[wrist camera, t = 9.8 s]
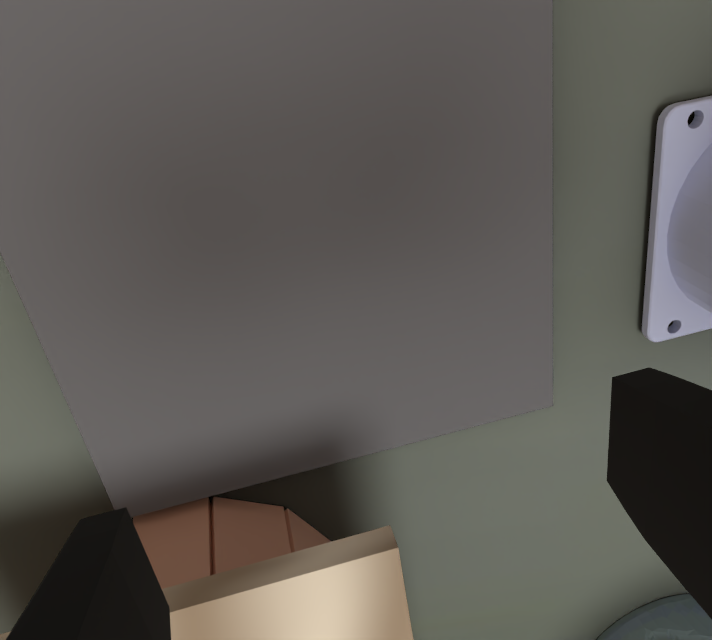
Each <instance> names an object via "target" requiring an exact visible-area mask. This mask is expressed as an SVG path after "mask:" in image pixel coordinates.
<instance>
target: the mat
mask: <svg viewBox="0 0 712 640" xmlns="http://www.w3.org/2000/svg"><path fill="white" fill-rule="evenodd" d="M0 253H1V255H2V257H3V260H4V262H5V264H6V266H7V269H8V271H9V273H10V275H11V278H12V280H13V282H14V284H15V287H16V289H17V291H18V293H19V296H20V298H21V300H22V302H23V305H24V307H25V309H26V311H27V314H28V316H29V318H30V320H31V323H32V325H33V327H34V329H35V332H36V334H37V336H38V338H39V341H40V343H41V345H42V348H43V350H44V352H45V354H46V357H47V359H48V361H49V363H50V366H51V368H52V370H53V372H54V375H55V377H56V379H57V381H58V384H59V386H60V388H61V390H62V393H63V395H64V397H65V399H66V402H67V404H68V406H69V408H70V411H71V413H72V415H73V417H74V420H75V422H76V424H77V426H78V429H79V431H80V433H81V435H82V438H83V440H84V442H85V444H86V447H87V449H88V451H89V453H90V456H91V458H92V460H93V462H94V465H95V467H96V469H97V472H98V474H99V476H100V478H101V481H102V483H103V485H104V487H105V490H106V492H107V494H108V496H109V499H110V501H111V503H112V505H113V508H114V510H118V509H121V508H125V507H126V508H127V510H128V512H129V515H130V517H135V516H138V515H142V514H146V513H150V512H153V511H157V510H161V509H165V508H169V507H172V506H176V505H180V504H184V503H187V502H191V501H195V500H199V499H203V498H206V497H210V496H214V495H218V494H222V493H225V492H229V491H233V490H237V489H240V488H244V487H248V486H252V485H256V484H259V483H263V482H267V481H271V480H274V479H278V478H282V477H286V476H290V475H293V474H297V473H301V472H305V471H308V470H312V469H316V468H320V467H324V466H327V465H331V464H335V463H339V462H342V461H346V460H350V459H354V458H358V457H361V456H365V455H369V454H373V453H376V452H380V451H384V450H388V449H392V448H395V447H399V446H403V445H407V444H411V443H414V442H418V441H422V440H426V439H429V438H433V437H437V436H441V435H445V434H448V433H452V432H456V431H460V430H463V429H467V428H471V427H475V426H479V425H482V424H486V423H490V422H494V421H497V420H501V419H505V418H509V417H513V416H516V415H520V414H524V413H528V412H531V411H535V410H539V409H543V408H547V407H550V406H553V0H0Z"/></svg>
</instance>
